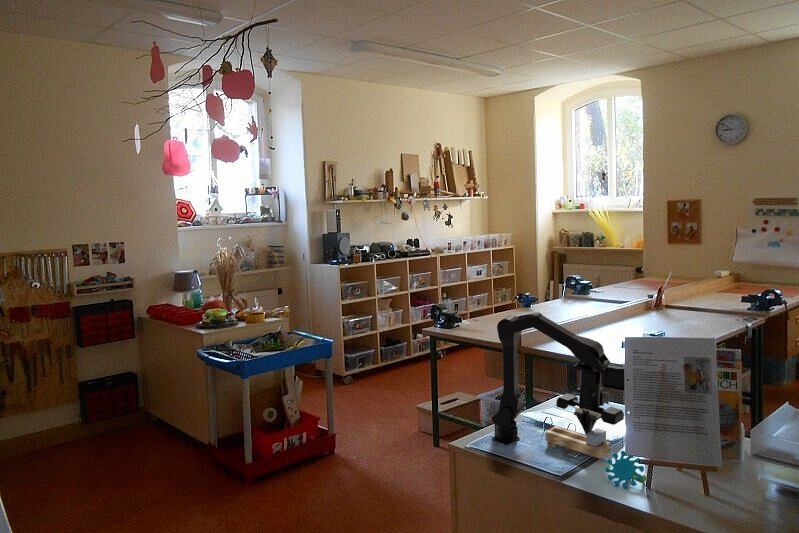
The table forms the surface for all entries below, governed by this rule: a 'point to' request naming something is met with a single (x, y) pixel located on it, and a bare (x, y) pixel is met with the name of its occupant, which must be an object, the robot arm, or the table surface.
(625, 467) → the gear
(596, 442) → the white rectangular block
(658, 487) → the table surface
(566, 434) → the beam
